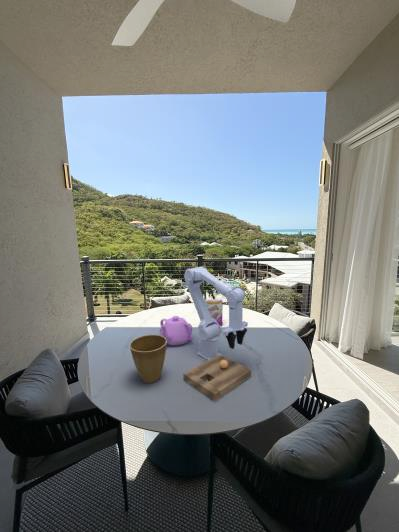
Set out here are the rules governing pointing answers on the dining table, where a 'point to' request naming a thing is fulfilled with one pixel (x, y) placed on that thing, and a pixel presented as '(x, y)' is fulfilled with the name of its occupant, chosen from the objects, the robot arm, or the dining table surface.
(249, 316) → the dining table surface
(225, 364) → the ball
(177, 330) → the teapot
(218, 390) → the brown wooden flat block
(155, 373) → the plant pot
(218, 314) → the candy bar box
